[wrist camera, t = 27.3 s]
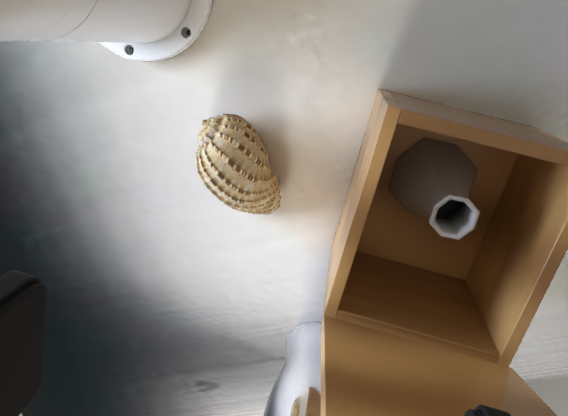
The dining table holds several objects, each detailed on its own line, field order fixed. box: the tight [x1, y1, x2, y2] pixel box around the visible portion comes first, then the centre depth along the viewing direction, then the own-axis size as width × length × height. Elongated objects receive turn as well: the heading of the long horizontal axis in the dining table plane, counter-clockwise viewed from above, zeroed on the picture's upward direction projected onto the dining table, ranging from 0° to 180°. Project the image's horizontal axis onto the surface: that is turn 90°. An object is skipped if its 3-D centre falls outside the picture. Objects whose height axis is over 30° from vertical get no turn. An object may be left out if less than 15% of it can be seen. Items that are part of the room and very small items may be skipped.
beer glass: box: [263, 322, 321, 416], centre depth 43 cm, size 7×7×15 cm
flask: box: [389, 138, 480, 240], centre depth 37 cm, size 7×7×10 cm
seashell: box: [195, 114, 281, 214], centre depth 42 cm, size 8×6×10 cm
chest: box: [323, 89, 568, 367], centre depth 37 cm, size 16×14×12 cm
